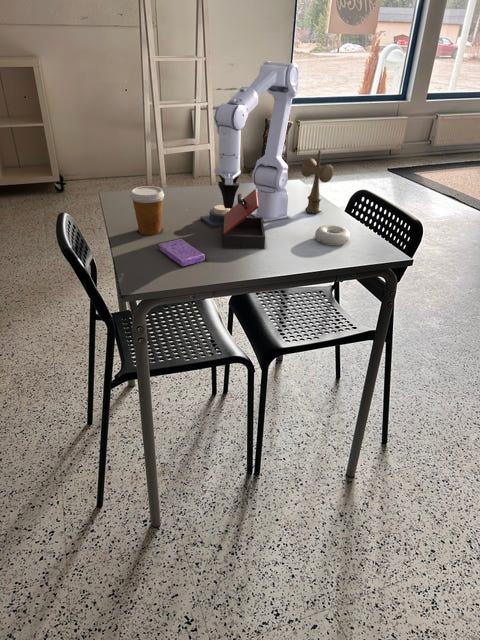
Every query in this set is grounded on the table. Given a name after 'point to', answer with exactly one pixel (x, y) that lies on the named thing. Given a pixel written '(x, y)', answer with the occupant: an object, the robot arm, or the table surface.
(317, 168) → the kendama
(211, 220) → the switch block
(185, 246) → the sponge
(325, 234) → the donut
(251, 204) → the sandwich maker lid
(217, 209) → the power button
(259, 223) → the black shallow box
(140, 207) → the disposable coffee cup
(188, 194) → the table surface
